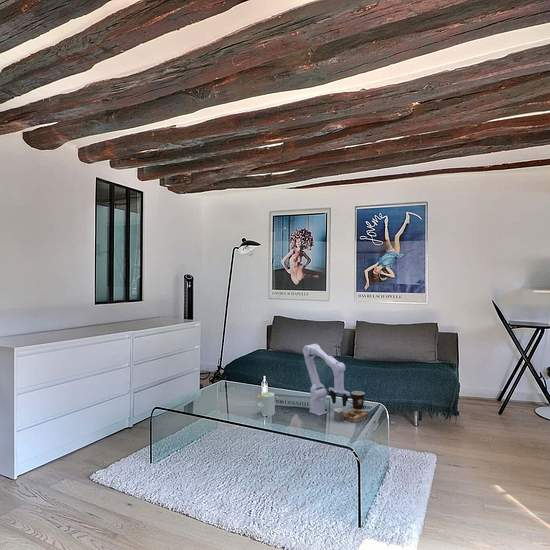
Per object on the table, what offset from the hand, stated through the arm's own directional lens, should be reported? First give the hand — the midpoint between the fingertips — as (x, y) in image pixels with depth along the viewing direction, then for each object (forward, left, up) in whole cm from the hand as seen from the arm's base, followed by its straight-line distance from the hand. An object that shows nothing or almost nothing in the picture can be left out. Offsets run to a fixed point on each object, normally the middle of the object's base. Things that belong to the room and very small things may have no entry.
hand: (339, 404), depth 255 cm
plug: (0, 0, -10) cm, 10 cm away
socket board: (+4, +10, -10) cm, 15 cm away
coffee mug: (-6, +25, -10) cm, 28 cm away
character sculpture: (-39, -25, -10) cm, 48 cm away
